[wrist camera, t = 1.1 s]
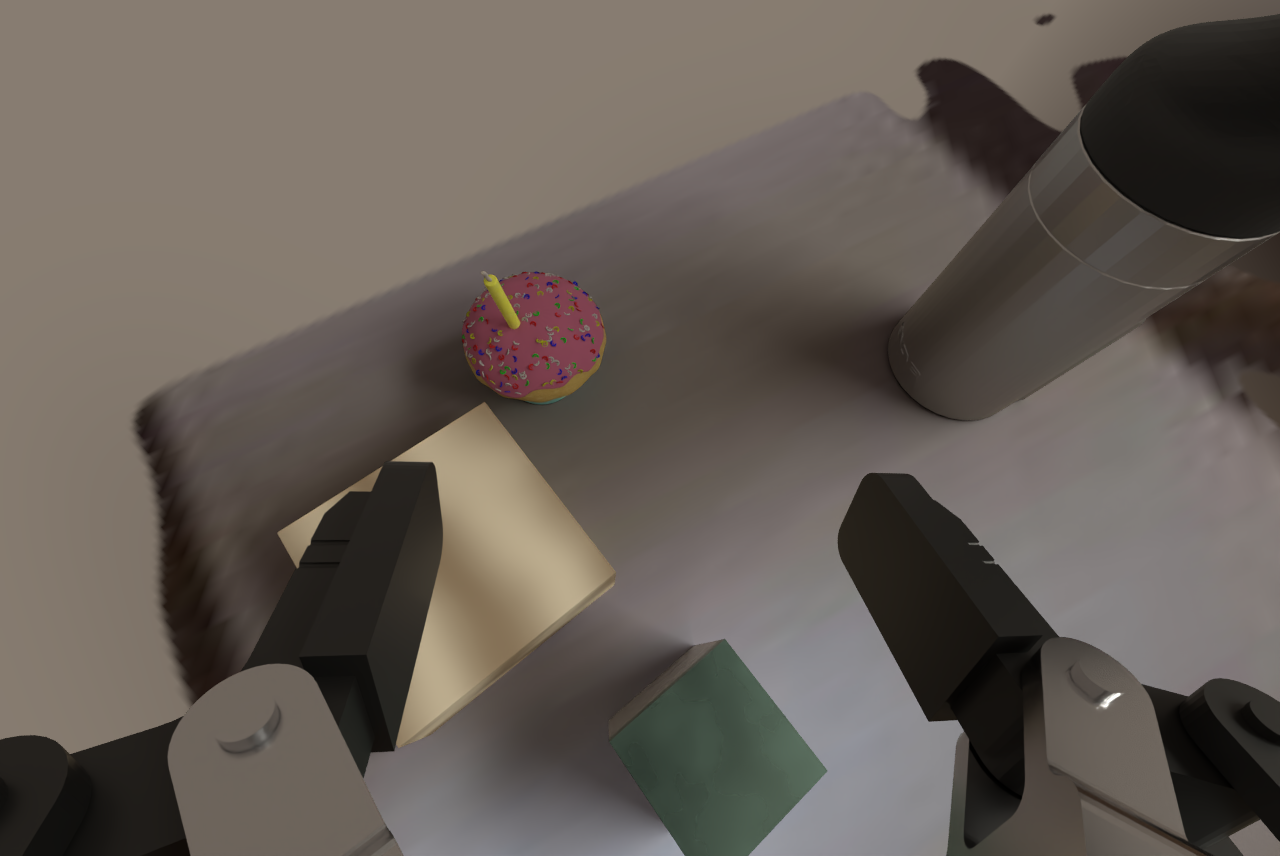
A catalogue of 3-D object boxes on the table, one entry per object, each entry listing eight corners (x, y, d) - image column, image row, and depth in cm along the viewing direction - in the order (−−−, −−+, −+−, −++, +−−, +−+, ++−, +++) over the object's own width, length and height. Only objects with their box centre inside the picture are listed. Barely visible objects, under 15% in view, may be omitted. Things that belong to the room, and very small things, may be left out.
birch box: (500, 436, 35) (484, 401, 30) (614, 585, 32) (615, 572, 27) (324, 551, 31) (276, 532, 27) (432, 734, 28) (398, 747, 23)
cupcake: (543, 455, 34) (513, 356, 23) (451, 376, 36) (383, 250, 25) (630, 367, 37) (641, 243, 26) (541, 299, 39) (516, 155, 28)
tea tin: (694, 645, 30) (724, 639, 22) (767, 741, 28) (827, 770, 21) (608, 720, 28) (609, 741, 21) (680, 828, 27) (710, 894, 19)
